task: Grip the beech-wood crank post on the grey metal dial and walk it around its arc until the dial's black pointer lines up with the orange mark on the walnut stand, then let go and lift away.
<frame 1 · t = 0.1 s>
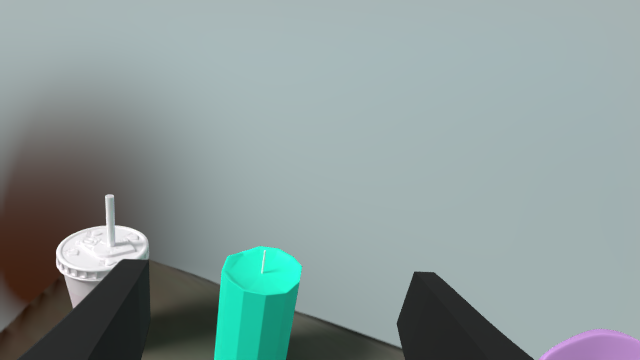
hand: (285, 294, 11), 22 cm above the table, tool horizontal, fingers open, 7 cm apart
smoothie: (108, 343, 35), on the table
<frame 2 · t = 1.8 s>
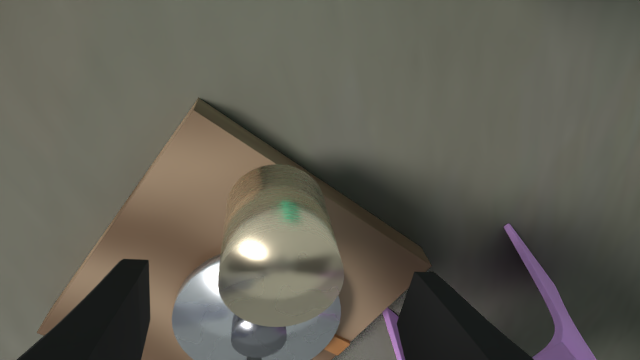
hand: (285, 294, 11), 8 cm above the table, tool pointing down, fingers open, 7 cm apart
chair: (464, 297, 24), on the table
stand: (242, 276, 20), on the table
crank dial: (264, 319, 16), point 4 cm above the table, hinge at 0.0°
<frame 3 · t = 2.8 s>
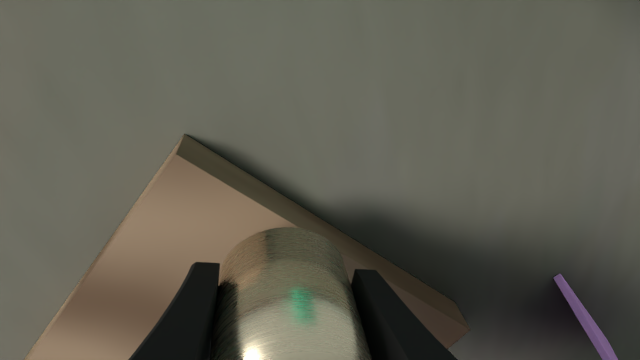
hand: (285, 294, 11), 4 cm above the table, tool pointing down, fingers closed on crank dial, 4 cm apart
chair: (502, 354, 20), on the table
stand: (240, 339, 17), on the table
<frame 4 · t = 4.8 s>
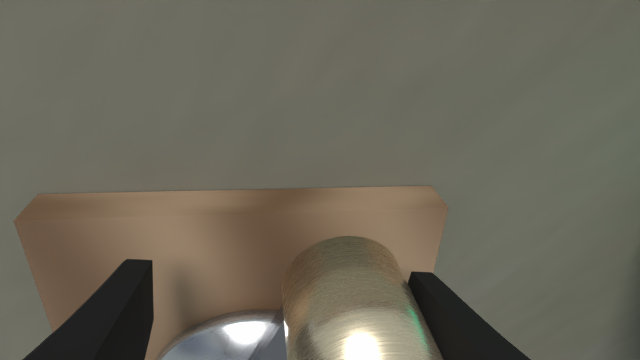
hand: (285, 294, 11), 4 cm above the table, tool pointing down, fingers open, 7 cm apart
stand: (252, 327, 17), on the table
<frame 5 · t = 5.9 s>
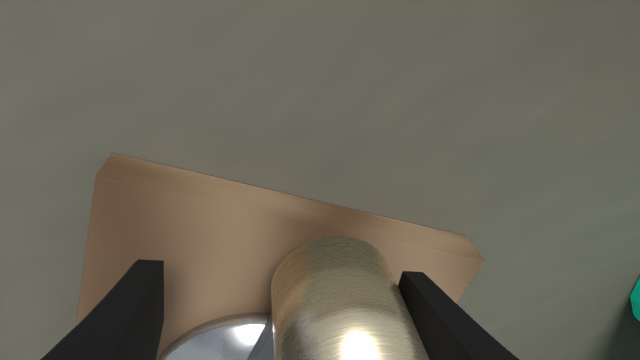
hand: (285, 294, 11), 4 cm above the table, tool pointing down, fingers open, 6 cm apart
stand: (260, 330, 17), on the table
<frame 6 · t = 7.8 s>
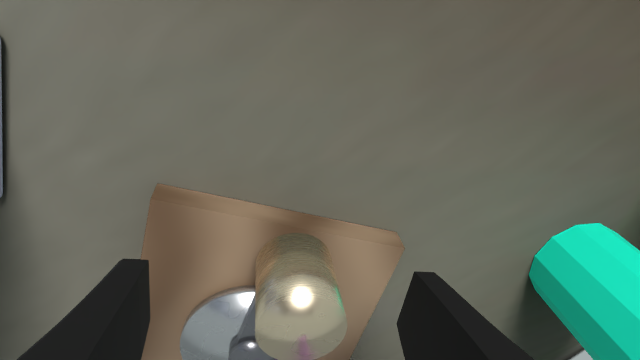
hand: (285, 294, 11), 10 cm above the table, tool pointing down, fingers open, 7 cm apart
candle: (571, 259, 26), on the table
stand: (256, 300, 24), on the table
crank dial: (265, 348, 20), point 4 cm above the table, hinge at 55.8°
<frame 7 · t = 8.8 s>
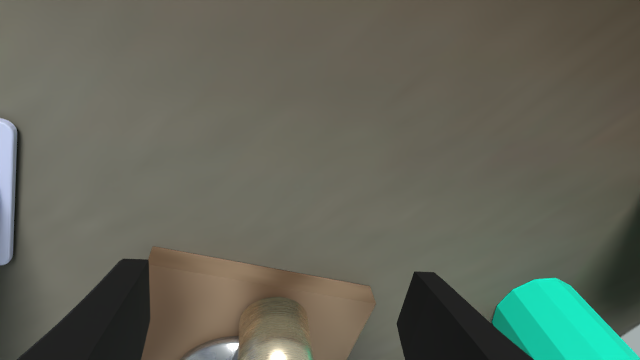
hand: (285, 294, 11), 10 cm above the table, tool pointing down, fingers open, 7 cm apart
candle: (531, 308, 29), on the table
stand: (241, 344, 27), on the table
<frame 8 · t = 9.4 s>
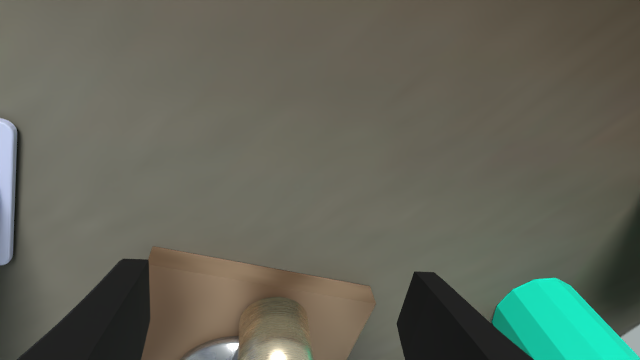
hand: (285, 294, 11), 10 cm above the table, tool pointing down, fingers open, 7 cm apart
candle: (531, 308, 29), on the table
stand: (241, 344, 27), on the table
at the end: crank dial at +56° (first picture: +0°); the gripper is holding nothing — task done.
